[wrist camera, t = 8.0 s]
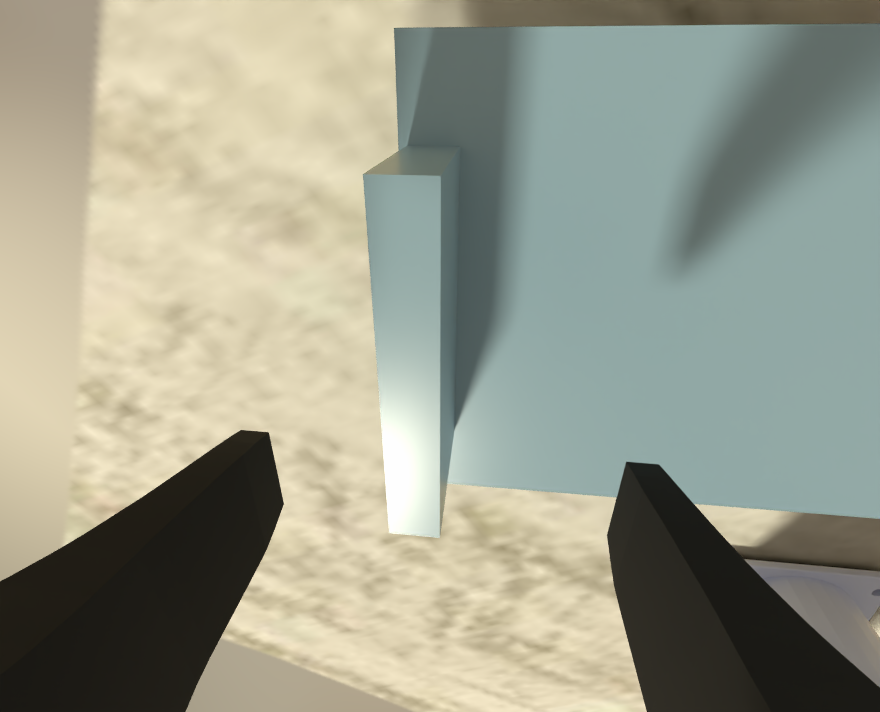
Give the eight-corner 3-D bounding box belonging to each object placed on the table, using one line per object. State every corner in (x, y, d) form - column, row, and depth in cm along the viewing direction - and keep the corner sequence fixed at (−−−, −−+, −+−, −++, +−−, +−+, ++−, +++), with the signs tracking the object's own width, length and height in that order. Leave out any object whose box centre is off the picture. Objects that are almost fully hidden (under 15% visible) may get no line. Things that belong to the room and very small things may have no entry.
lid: (1076, 515, 15) (1304, 686, 10) (414, 464, 17) (385, 591, 12) (1535, 22, 9) (2519, -37, 4) (400, 31, 10) (335, -4, 6)
